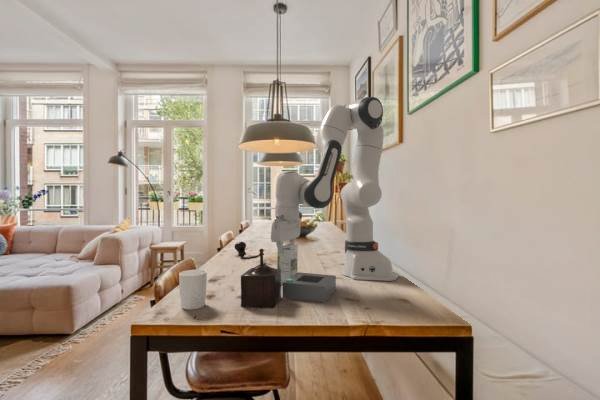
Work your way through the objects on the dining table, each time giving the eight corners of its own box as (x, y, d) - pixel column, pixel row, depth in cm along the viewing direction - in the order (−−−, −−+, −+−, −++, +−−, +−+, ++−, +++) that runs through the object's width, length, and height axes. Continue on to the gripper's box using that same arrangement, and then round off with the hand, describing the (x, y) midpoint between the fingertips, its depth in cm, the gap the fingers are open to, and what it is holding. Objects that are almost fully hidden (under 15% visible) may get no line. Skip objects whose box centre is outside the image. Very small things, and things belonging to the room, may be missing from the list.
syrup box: (284, 280, 121) (284, 243, 120) (297, 282, 118) (297, 244, 118) (276, 284, 115) (276, 245, 115) (291, 286, 113) (291, 246, 113)
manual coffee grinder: (282, 296, 101) (282, 241, 101) (274, 309, 90) (274, 246, 90) (237, 294, 104) (237, 240, 103) (223, 305, 93) (223, 245, 92)
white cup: (199, 299, 98) (199, 268, 98) (211, 305, 93) (211, 272, 92) (174, 305, 93) (174, 272, 93) (186, 312, 87) (186, 277, 87)
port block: (335, 290, 108) (335, 273, 108) (324, 302, 95) (324, 284, 95) (298, 286, 113) (298, 270, 113) (282, 297, 100) (282, 280, 100)
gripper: (283, 216, 105) (282, 257, 105) (303, 214, 125) (302, 248, 125) (266, 215, 108) (265, 255, 108) (289, 213, 127) (288, 247, 127)
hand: (285, 251), depth 116 cm, fingers open, 8 cm apart
